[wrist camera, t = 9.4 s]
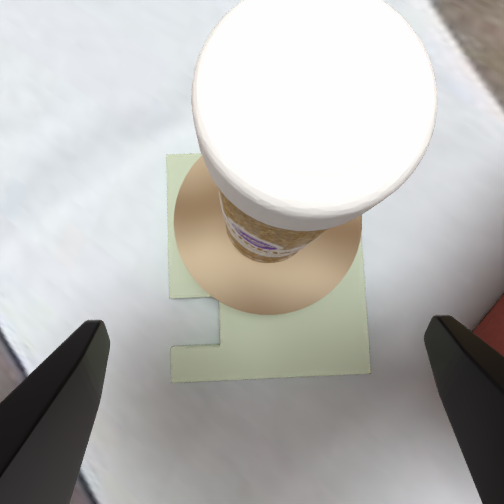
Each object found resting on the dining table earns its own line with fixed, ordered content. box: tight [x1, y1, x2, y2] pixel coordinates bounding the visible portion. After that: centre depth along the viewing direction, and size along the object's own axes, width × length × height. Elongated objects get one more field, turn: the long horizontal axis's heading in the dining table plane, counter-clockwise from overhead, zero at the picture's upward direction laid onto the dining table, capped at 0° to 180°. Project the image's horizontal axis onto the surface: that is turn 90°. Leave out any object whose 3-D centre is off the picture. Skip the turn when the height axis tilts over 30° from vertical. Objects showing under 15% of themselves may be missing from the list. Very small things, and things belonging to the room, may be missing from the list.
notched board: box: [166, 154, 371, 383], centre depth 24 cm, size 14×12×1 cm
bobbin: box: [174, 156, 362, 315], centre depth 22 cm, size 10×10×3 cm
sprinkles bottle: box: [192, 0, 437, 263], centre depth 13 cm, size 5×5×14 cm
